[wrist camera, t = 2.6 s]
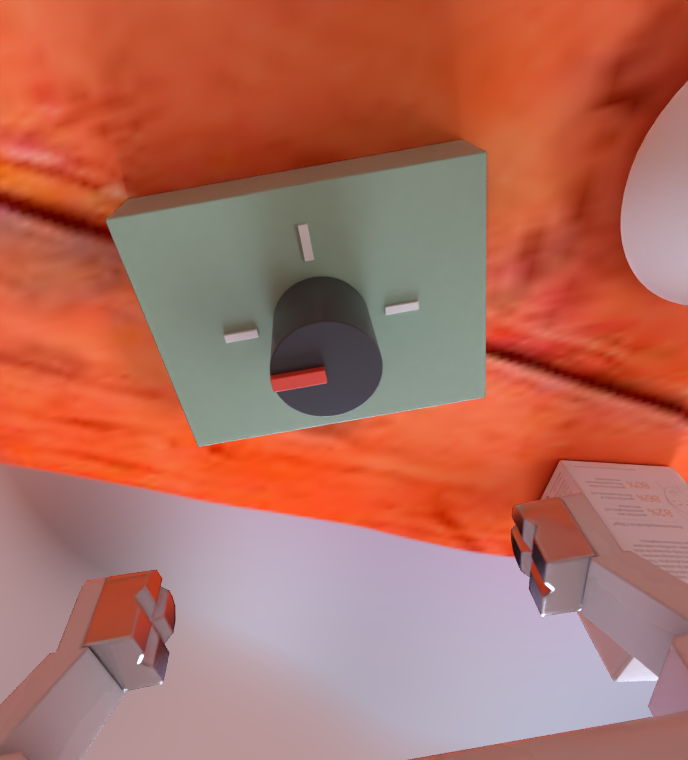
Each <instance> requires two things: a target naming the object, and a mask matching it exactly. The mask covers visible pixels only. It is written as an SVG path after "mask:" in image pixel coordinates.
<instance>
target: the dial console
mask: <svg viewBox="0 0 688 760" xmlns="http://www.w3.org/2000/svg"><path fill="white" fill-rule="evenodd" d="M486 199H487V152H486V151H485V150H483V149H481V148H479V147H477V146H475V145H473V144H471V143H469V142H467V141H465V140H463V139H461V140H456V141H450V142H445V143H439V144H433V145H428V146H422V147H417V148H411V149H405V150H400V151H394V152H389V153H383V154H377V155H372V156H366V157H361V158H355V159H349V160H344V161H338V162H333V163H327V164H322V165H316V166H310V167H305V168H299V169H294V170H288V171H282V172H277V173H271V174H266V175H260V176H254V177H249V178H243V179H238V180H232V181H226V182H221V183H215V184H210V185H204V186H198V187H193V188H187V189H182V190H176V191H170V192H165V193H159V194H154V195H148V196H142V197H137V198H131V199H127V200H126V201H125V202H124V203H123V204H122V205H121V206H120V207H118V208H117V209H116V210H115V211H114V212H113V213H112V214H111V215H110V216H109V217H107V218H106V223H107V226H108V228H109V230H110V233H111V235H112V238H113V240H114V243H115V245H116V248H117V250H118V252H119V255H120V257H121V260H122V262H123V265H124V267H125V270H126V272H127V274H128V277H129V279H130V282H131V284H132V287H133V289H134V291H135V294H136V296H137V299H138V301H139V304H140V306H141V309H142V311H143V313H144V316H145V318H146V321H147V323H148V326H149V328H150V331H151V333H152V335H153V338H154V340H155V343H156V345H157V348H158V350H159V352H160V355H161V357H162V360H163V362H164V365H165V367H166V370H167V372H168V374H169V377H170V379H171V382H172V384H173V387H174V389H175V392H176V394H177V396H178V399H179V401H180V404H181V406H182V409H183V411H184V413H185V416H186V418H187V421H188V423H189V426H190V428H191V431H192V433H193V435H194V438H195V440H196V443H197V445H198V446H199V447H200V446H206V445H211V444H217V443H223V442H229V441H235V440H240V439H246V438H252V437H258V436H263V435H269V434H275V433H281V432H287V431H292V430H298V429H304V428H310V427H316V426H321V425H327V424H333V423H339V422H345V421H350V420H356V419H362V418H368V417H374V416H379V415H385V414H391V413H397V412H403V411H408V410H414V409H420V408H426V407H431V406H437V405H443V404H449V403H455V402H460V401H466V400H472V399H478V398H484V397H485V389H486ZM312 277H332V278H336V279H339V280H342V281H344V282H346V283H348V284H350V285H351V286H352V287H354V288H355V289H356V290H357V291H358V292H359V293H360V294H361V296H362V297H363V299H364V301H365V303H366V305H367V308H368V311H369V315H370V318H371V321H372V325H373V328H374V332H375V335H376V339H377V342H378V346H379V349H380V352H381V356H382V361H383V372H382V377H381V381H380V383H379V385H378V387H377V389H376V391H375V392H374V394H373V395H372V396H371V397H370V398H369V399H368V400H367V401H366V402H365V403H364V404H363V405H361V406H360V407H358V408H356V409H355V410H353V411H350V412H348V413H345V414H342V415H338V416H331V417H318V416H312V415H307V414H304V413H301V412H299V411H297V410H295V409H293V408H292V407H290V406H289V405H287V404H286V403H285V402H284V401H283V400H282V399H281V398H280V397H279V395H278V394H277V393H276V392H274V391H273V388H272V384H271V381H270V356H271V343H272V329H273V316H274V311H275V307H276V305H277V303H278V301H279V299H280V298H281V296H282V295H283V294H284V292H285V291H287V290H288V289H289V288H290V287H291V286H293V285H294V284H296V283H298V282H300V281H302V280H305V279H308V278H312Z"/></svg>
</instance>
